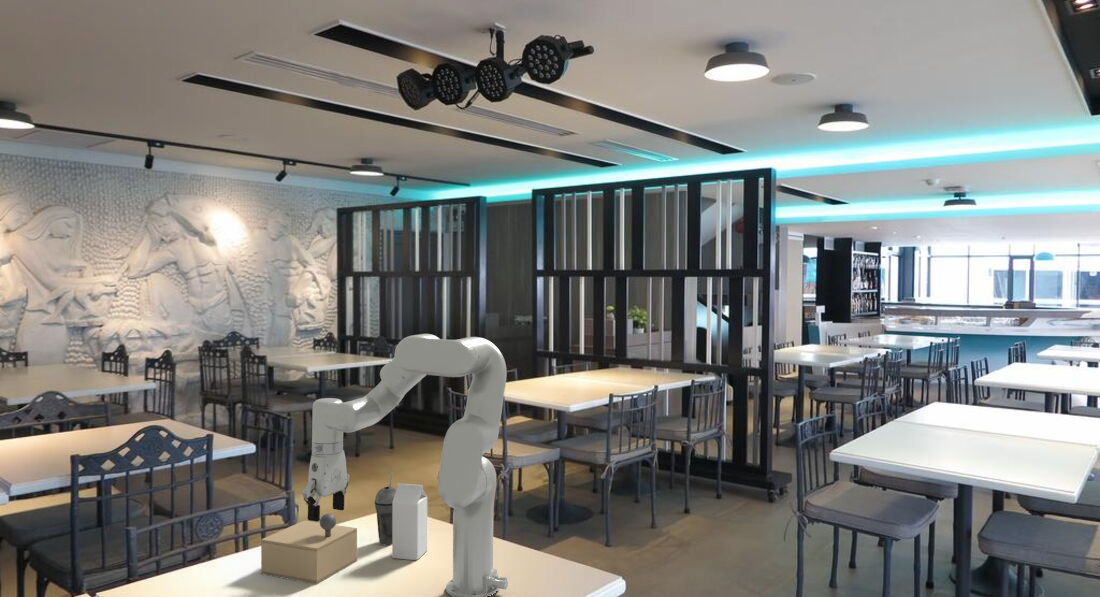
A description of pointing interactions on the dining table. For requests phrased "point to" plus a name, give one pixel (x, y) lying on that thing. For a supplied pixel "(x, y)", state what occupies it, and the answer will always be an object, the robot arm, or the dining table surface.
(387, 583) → the dining table surface
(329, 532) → the flap
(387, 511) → the beverage cup
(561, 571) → the dining table surface
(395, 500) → the milk carton
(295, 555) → the light brown open box
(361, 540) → the dining table surface
